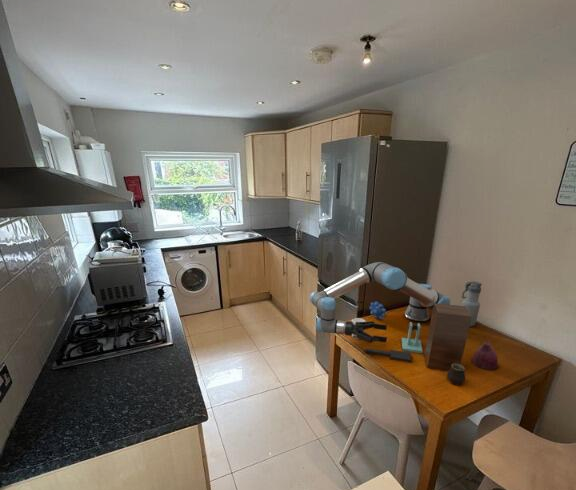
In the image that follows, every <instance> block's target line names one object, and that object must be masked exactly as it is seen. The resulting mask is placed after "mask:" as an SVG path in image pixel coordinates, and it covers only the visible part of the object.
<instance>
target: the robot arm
mask: <svg viewBox="0 0 576 490" xmlns="http://www.w3.org/2000/svg"><path fill="white" fill-rule="evenodd" d="M407 275H408V274H407V273H405V272H404V271H403V270H402V269H400V268H399V267H397V266H396V267H395V266H394V265H390V264H388V263H385V262H384V261H383V262H382V261H377V262H373V263H369V264H367V265H365V266H363V267H361V268H360V269H359V271H357V272H355V273H353V274H351V275H349V276H348V277H346V278H344V279H342V280H340V281H338V282H336V283H335V284H332V285H331V286H329V287H327V288H325V289H323V290H321V291H313V292H311V293H310V295H309V301H310V303H311V304H312V305H313V306H315V308H316V309H317V310H319V312H320V317H318V318H317V319H316V324H315V329H316V331H318V332H322V333H329V334H335V335H343V336H344V335H345V336H349V337H352V334H353V337H354V338H353V337H352V338H353V339H356V338H358V339H357V340H360V341H364V342H366V343H368V344H372V343H373V342H379V343H387V339H388V337H387V336H380V335H374V334H373V335H371V334H369V333H368V332H366V331H365V330H369V329H375V330H382V331H387V326H388V324H380V323H375V321H374V320H369V321H366V322H356V323H355V325H354V324H353V322H352V321H350V320H347V321H345V320H341V319H335V318H336V307H337V306H336V299H337V298H340V297H342V296H344V295H345V294H347V293H349V292H351V291H352V290H354V289H356V288H359V287H360V286H362V285H364V284H369V283H371V282H375V283H378V284H380V285H382V286H384V287H385V288H386V289H389V290H391V291H393V292H401V293H403V294H405V295H406V296H408V297H409V303H408V306H407V308H406V310H405V311H404V317H405V319H407V320H409V321H412V322H417V323H426V322H429V320H430V313H429V311H431V312H433V307H434V303H438V304H447V305H451V299H450V297H448V296H447V295H444V294H443V293H440V292H439V291H437V290H435V289H432V288H433V287H432V285H430V284H428V283H427V284H425V283H418V282H416V281H414V280H412V279H410V278H409V277H408V276H407ZM363 330H364V331H363Z"/></svg>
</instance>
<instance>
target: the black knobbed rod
mask: <svg viewBox="0 0 576 490" xmlns="http://www.w3.org/2000/svg"><path fill="white" fill-rule="evenodd" d="M417 325H418V324H414V323H412V331H415V330H416V331H417Z"/></svg>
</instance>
